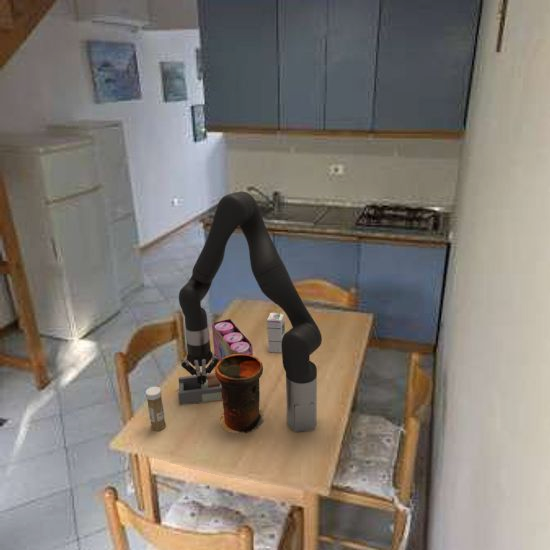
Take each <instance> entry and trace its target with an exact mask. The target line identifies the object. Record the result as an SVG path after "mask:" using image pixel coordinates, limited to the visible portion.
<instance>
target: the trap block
mask: <svg viewBox="0 0 550 550" xmlns="http://www.w3.org/2000/svg"><path fill="white" fill-rule="evenodd" d="M213 373H214V374H211V373H207V378H208V388H211V387H219V386H220V381H219V380H218V379H217V378H216V375H215V372H213Z"/></svg>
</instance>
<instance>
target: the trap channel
mask: <svg viewBox="0 0 550 550" xmlns="http://www.w3.org/2000/svg"><path fill="white" fill-rule="evenodd" d="M214 373H215V372H211V373H210V374H214ZM207 374H208V373H207ZM207 374H206V383H204V385H200V383H199V384H198V380H197V375H187V376H180V377H179V376H178V392H177V393H178V402H179V405H180V406H182V405H190V404H197V403H205V402H214V400H215V401H220V400H221V399H222V393H221V388H222V386H221V384H220V386H219V387H211V388H208V378H207ZM221 401H222V400H221Z"/></svg>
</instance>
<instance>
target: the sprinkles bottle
mask: <svg viewBox="0 0 550 550" xmlns="http://www.w3.org/2000/svg"><path fill="white" fill-rule="evenodd" d="M145 398H146V401H147V408H148V414H149V420H150V428H151V430H153V431H157V432H159V431H161V430H163V429H164V428H165V427H166V425H167V424H166V419H165V413H164V412H165V411H164V406H163V405H164V404H163V399H162V388H160V387H159V386H150V387H148V388H147V389H146V391H145Z"/></svg>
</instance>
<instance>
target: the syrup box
mask: <svg viewBox="0 0 550 550" xmlns="http://www.w3.org/2000/svg"><path fill="white" fill-rule="evenodd" d="M285 325H286V324H285V313H280V312H270V313H269V315H268V316H267V319H266V329H267V346H268V348H267V349H268V352H270V353H276V354H277V353H279V354H282V346H281V344H282V338H283V336H284V334H285V333H286V327H285Z"/></svg>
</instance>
